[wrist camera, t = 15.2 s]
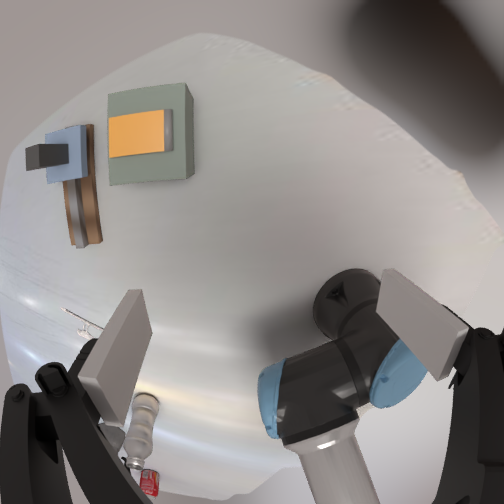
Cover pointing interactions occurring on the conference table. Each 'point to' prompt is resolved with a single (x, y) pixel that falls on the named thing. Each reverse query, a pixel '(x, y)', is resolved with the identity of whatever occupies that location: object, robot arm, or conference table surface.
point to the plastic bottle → (140, 431)
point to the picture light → (84, 333)
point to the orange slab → (141, 133)
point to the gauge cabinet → (155, 163)
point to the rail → (83, 202)
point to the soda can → (149, 483)
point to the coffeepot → (115, 439)
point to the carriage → (60, 155)
